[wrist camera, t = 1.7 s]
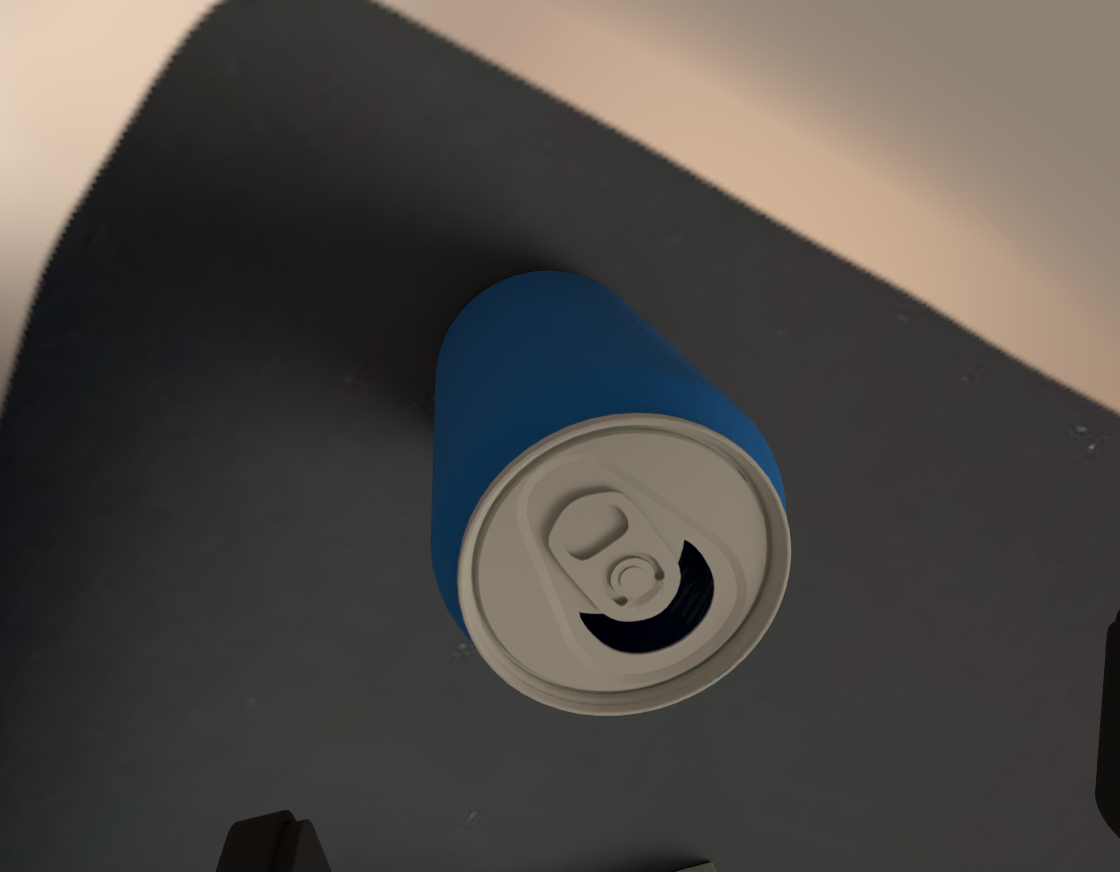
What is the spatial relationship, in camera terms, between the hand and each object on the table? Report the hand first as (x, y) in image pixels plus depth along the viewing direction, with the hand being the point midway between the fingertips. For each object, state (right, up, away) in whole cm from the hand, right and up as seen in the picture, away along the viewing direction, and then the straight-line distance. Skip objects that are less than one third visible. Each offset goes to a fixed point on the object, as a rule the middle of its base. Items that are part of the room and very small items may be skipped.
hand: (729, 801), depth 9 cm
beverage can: (-2, +6, +15) cm, 17 cm away
